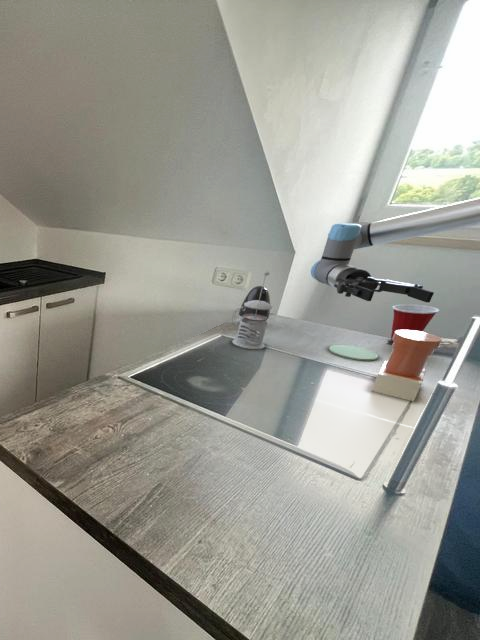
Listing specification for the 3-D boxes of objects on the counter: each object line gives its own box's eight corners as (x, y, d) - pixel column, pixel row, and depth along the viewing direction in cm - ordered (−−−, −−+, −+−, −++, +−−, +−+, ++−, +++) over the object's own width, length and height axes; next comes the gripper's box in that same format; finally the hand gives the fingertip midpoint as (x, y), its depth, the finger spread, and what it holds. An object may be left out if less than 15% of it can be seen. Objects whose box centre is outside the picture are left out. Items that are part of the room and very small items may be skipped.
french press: (258, 351, 128) (278, 275, 118) (221, 342, 136) (237, 270, 126) (269, 344, 133) (289, 271, 123) (234, 335, 142) (250, 266, 132)
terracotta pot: (411, 366, 104) (426, 330, 100) (433, 379, 96) (451, 342, 92) (373, 363, 106) (387, 328, 102) (393, 376, 99) (408, 340, 94)
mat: (364, 347, 129) (364, 346, 128) (386, 361, 118) (387, 360, 118) (321, 344, 132) (322, 343, 131) (340, 358, 121) (340, 357, 121)
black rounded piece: (241, 328, 149) (250, 289, 142) (232, 319, 158) (241, 282, 152) (271, 329, 146) (282, 289, 140) (260, 320, 156) (270, 283, 150)
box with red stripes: (377, 376, 110) (384, 360, 108) (418, 385, 104) (425, 369, 102) (371, 390, 102) (378, 373, 100) (413, 401, 97) (422, 383, 95)
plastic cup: (381, 333, 140) (394, 300, 135) (424, 340, 133) (439, 306, 128) (378, 341, 133) (392, 307, 128) (423, 349, 126) (439, 313, 121)
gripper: (390, 291, 121) (449, 311, 102) (301, 290, 125) (342, 309, 106) (399, 267, 118) (462, 283, 99) (308, 266, 122) (352, 282, 103)
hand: (400, 296), depth 103 cm, fingers open, 13 cm apart
